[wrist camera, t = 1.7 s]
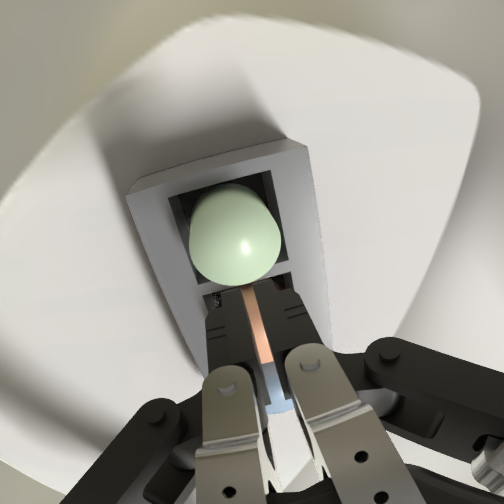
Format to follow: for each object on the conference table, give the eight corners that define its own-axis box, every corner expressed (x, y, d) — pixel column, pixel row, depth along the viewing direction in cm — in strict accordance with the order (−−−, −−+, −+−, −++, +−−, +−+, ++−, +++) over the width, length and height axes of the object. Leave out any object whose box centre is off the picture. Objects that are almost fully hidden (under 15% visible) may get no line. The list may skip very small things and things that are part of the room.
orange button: (289, 320, 23) (302, 352, 20) (229, 336, 23) (234, 371, 20) (279, 268, 21) (292, 298, 18) (210, 286, 21) (213, 320, 18)
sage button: (273, 244, 20) (287, 272, 17) (203, 263, 20) (204, 295, 17) (258, 174, 18) (271, 191, 15) (180, 195, 18) (177, 216, 15)
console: (321, 354, 29) (335, 385, 26) (220, 382, 29) (224, 415, 25) (287, 137, 20) (307, 146, 16) (137, 178, 19) (124, 196, 16)
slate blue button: (299, 373, 26) (310, 404, 23) (248, 387, 26) (255, 419, 23) (293, 337, 24) (305, 369, 21) (235, 353, 24) (241, 387, 21)
